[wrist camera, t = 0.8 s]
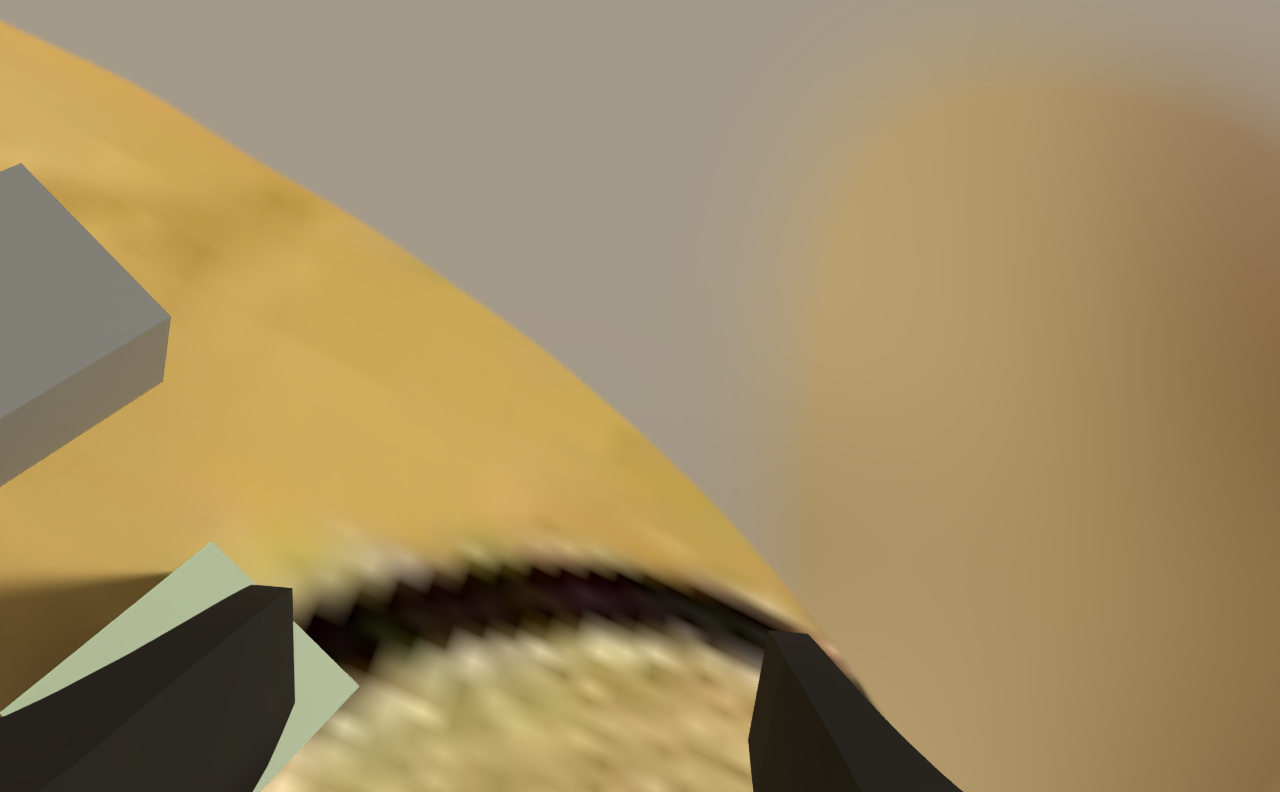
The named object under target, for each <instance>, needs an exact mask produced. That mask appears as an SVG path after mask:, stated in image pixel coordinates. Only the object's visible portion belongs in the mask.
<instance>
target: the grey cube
mask: <svg viewBox="0 0 1280 792" xmlns="http://www.w3.org/2000/svg"><path fill="white" fill-rule="evenodd" d="M170 319H171V316H170V315H169V314H168V313H167V312H166V311H165V310H164V309H163V308H162V307H161V306H160V305H159V304H158V303H157V302H156V301H155V300H154V299H153V298H152V297H151V296H150V295H149V294H148V293H147V292H146V291H145V290H144V289H143V288H142V287H141V285H140V284H139V283H138V282H137V281H136V280H135V279H134V278H133V277H132V276H131V275H130V274H129V273H128V272H127V271H126V270H125V269H124V268H123V267H122V266H121V265H120V264H119V263H118V262H117V261H116V260H115V259H114V258H113V257H112V256H111V255H110V254H109V253H108V252H107V251H106V250H105V249H104V248H103V246H102V245H101V244H100V243H99V242H98V241H97V240H96V239H95V238H94V237H93V236H92V235H91V234H90V233H89V232H88V231H87V230H86V229H85V228H84V227H83V226H82V225H81V224H80V223H79V222H78V221H77V220H76V219H75V218H74V217H73V216H72V215H71V214H70V213H69V212H68V211H67V210H66V209H65V207H64V206H63V205H62V204H61V203H60V202H59V201H58V200H57V199H56V198H55V197H54V196H53V195H52V194H51V193H50V192H49V191H48V190H47V189H46V188H45V187H44V186H43V185H42V184H41V183H40V182H39V181H38V180H37V179H36V178H35V177H34V176H33V175H32V174H31V173H30V172H29V171H28V170H27V169H26V167H25V166H24V165H23V164H22V163H20V164H18V165H16V166H13V167H11V168H9V169H6V170H4V171H1V172H0V487H1V486H2V485H4V484H5V483H7V482H8V481H10V480H12V479H13V478H15V477H16V476H18V475H19V474H21V473H22V472H24V471H25V470H27V469H29V468H30V467H32V466H33V465H35V464H36V463H38V462H39V461H41V460H42V459H44V458H46V457H47V456H49V455H50V454H52V453H53V452H55V451H56V450H58V449H59V448H61V447H63V446H64V445H66V444H67V443H69V442H70V441H72V440H73V439H75V438H76V437H78V436H79V435H81V434H83V433H84V432H86V431H87V430H89V429H90V428H92V427H93V426H95V425H96V424H98V423H100V422H101V421H103V420H104V419H106V418H107V417H109V416H110V415H112V414H113V413H115V412H117V411H118V410H120V409H121V408H123V407H124V406H126V405H127V404H129V403H130V402H132V401H134V400H135V399H137V398H138V397H140V396H141V395H143V394H144V393H146V392H147V391H149V390H150V389H152V388H154V387H155V386H157V385H158V384H160V383H161V382H163V376H164V368H165V360H166V352H167V344H168V336H169V328H170Z"/></svg>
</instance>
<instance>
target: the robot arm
mask: <svg viewBox="0 0 1280 792" xmlns="http://www.w3.org/2000/svg"><path fill="white" fill-rule="evenodd" d="M294 704H295V676H294V636H293V596H292V588H284V587H273V586H261V585H249V586H247V587H245V588H243V589H241V590H239V591H237V592H236V593H234V594H232V595H230V596H228V597H226V598H225V599H223V600H221V601H219V602H218V603H216V604H214V605H212V606H211V607H209V608H207V609H206V610H204V611H202V612H200V613H199V614H197V615H195V616H194V617H192V618H190V619H188V620H187V621H185V622H183V623H182V624H180V625H178V626H176V627H175V628H173V629H171V630H169V631H168V632H166V633H164V634H162V635H161V636H159V637H157V638H155V639H154V640H152V641H150V642H148V643H147V644H145V645H143V646H141V647H140V648H138V649H136V650H134V651H133V652H131V653H129V654H127V655H125V656H123V657H122V658H120V659H118V660H116V661H114V662H112V663H110V664H108V665H106V666H104V667H103V668H101V669H99V670H97V671H95V672H93V673H91V674H89V675H87V676H85V677H83V678H82V679H80V680H78V681H76V682H74V683H72V684H70V685H68V686H66V687H64V688H62V689H61V690H59V691H57V692H55V693H53V694H51V695H49V696H46V697H44V698H42V699H40V700H38V701H36V702H34V703H32V704H30V705H28V706H25V707H23V708H21V709H19V710H17V711H15V712H12V713H10V714H8V715H6V716H3V717H1V718H0V792H253V791H254V789H255V787H256V785H257V784H258V782H259V780H260V779H261V777H262V775H263V773H264V772H265V770H266V768H267V766H268V764H269V762H270V760H271V758H272V755H273V753H274V751H275V749H276V747H277V744H278V742H279V740H280V738H281V735H282V733H283V730H284V728H285V726H286V723H287V721H288V719H289V716H290V714H291V711H292V709H293V707H294ZM748 743H749V753H750V764H751V774H752V783H753V791H754V792H963V791H961V790H960V789H959V788H958V787H957V786H955V785H954V784H953V783H952V782H951V781H950V780H949V779H947V778H946V777H945V776H944V775H943V774H942V773H941V772H940V771H939V770H937V769H936V768H935V767H934V766H933V765H932V764H931V763H930V762H929V761H928V760H927V759H926V758H925V757H924V756H922V755H921V754H920V753H919V752H918V751H917V750H916V749H915V748H914V747H913V746H912V745H911V744H910V743H909V742H908V741H907V740H906V739H905V738H904V737H903V736H902V735H901V734H899V732H898V731H897V730H896V729H895V728H894V727H893V726H892V725H891V724H890V723H889V722H888V721H887V720H886V719H885V718H884V717H883V716H882V715H881V714H880V713H879V712H878V711H877V710H876V709H875V708H874V706H873V705H872V704H871V703H870V702H869V701H868V700H867V699H866V698H865V697H864V696H863V695H862V694H861V692H860V691H859V690H858V689H857V688H856V687H855V686H854V685H853V684H852V683H851V681H850V680H849V679H848V678H847V677H846V676H845V675H844V674H843V672H842V671H841V670H840V669H839V668H838V667H837V666H836V665H835V663H834V662H833V661H832V660H831V659H830V658H829V657H828V656H827V654H826V653H825V652H824V651H823V650H822V649H821V648H820V647H819V645H818V644H817V643H816V642H815V641H814V640H813V639H812V638H811V637H810V636H809V635H808V634H803V633H792V632H780V631H769V630H768V636H767V641H766V646H765V652H764V657H763V663H762V668H761V673H760V679H759V684H758V690H757V695H756V700H755V706H754V711H753V717H752V722H751V727H750V733H749V738H748Z"/></svg>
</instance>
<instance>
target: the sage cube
mask: <svg viewBox="0 0 1280 792" xmlns="http://www.w3.org/2000/svg"><path fill="white" fill-rule="evenodd" d="M249 585H256V584H255V583H254V582H253V581H252V580H251V579H250V578H249V577H248V576H247V575H246V574H245V573H244V572H243V571H242V570H241V569H240V568H239V567H238V566H237V565H236V564H235V563H234V562H233V561H232V560H231V559H230V558H229V557H228V556H227V555H226V554H225V553H224V552H223V551H222V550H221V549H220V548H219V547H217V546H216V545H215V544H214V543H213V542H212V541H211V542H210V543H209V544H207V545H206V546H205V547H204V548H202V549H201V550H200V551H199V552H197V553H196V554H195V555H194V556H192V557H191V558H190V559H189V560H188V561H186V562H185V563H184V564H183V565H181V566H180V567H179V568H178V569H176V570H175V571H174V572H173V573H171V574H170V575H169V576H168V577H167V578H165V579H164V580H163V581H162V582H160V583H159V584H158V585H157V586H155V587H154V588H153V589H152V590H150V591H149V592H148V593H147V594H146V595H144V596H143V597H142V598H141V599H139V600H138V601H137V602H136V603H134V604H133V605H132V606H131V607H129V608H128V609H127V610H126V611H125V612H123V613H122V614H121V615H120V616H118V617H117V618H116V619H115V620H113V621H112V622H111V623H110V624H108V625H107V626H106V627H105V628H104V629H102V630H101V631H100V632H99V633H97V634H96V635H95V636H94V637H92V638H91V639H90V640H89V641H88V642H86V643H85V644H84V645H83V646H81V647H80V648H79V649H78V650H76V651H75V652H74V653H73V654H71V655H70V656H69V657H68V658H67V659H65V660H64V661H63V662H62V663H60V664H59V665H58V666H57V667H55V668H54V669H53V670H52V671H50V672H49V673H48V674H47V675H46V676H44V677H43V678H42V679H41V680H39V681H38V682H37V683H36V684H34V685H33V686H32V687H31V688H29V689H28V690H27V691H26V692H25V693H23V694H22V695H21V696H20V697H18V698H17V699H16V700H15V701H13V702H12V703H11V704H10V705H8V706H7V707H6V708H5V709H4V710H2V711H1V712H0V714H1V715H2V716H6V715H8V714H10V713H12V712H15V711H17V710H19V709H21V708H23V707H25V706H28V705H30V704H32V703H34V702H36V701H38V700H40V699H42V698H44V697H46V696H49V695H51V694H53V693H55V692H57V691H59V690H61V689H62V688H64V687H66V686H68V685H70V684H72V683H74V682H76V681H78V680H80V679H82V678H83V677H85V676H87V675H89V674H91V673H93V672H95V671H97V670H99V669H101V668H103V667H104V666H106V665H108V664H110V663H112V662H114V661H116V660H118V659H120V658H122V657H123V656H125V655H127V654H129V653H131V652H133V651H134V650H136V649H138V648H140V647H141V646H143V645H145V644H147V643H148V642H150V641H152V640H154V639H155V638H157V637H159V636H161V635H162V634H164V633H166V632H168V631H169V630H171V629H173V628H175V627H176V626H178V625H180V624H182V623H183V622H185V621H187V620H188V619H190V618H192V617H194V616H195V615H197V614H199V613H200V612H202V611H204V610H206V609H207V608H209V607H211V606H212V605H214V604H216V603H218V602H219V601H221V600H223V599H225V598H226V597H228V596H230V595H232V594H234V593H236V592H237V591H239V590H241V589H243V588H245V587H247V586H249ZM293 636H294V676H295V704H294V707H293V709H292V711H291V714H290V716H289V719H288V721H287V723H286V726H285V728H284V730H283V733H282V735H281V738H280V740H279V742H278V744H277V747H276V749H275V751H274V753H273V755H272V758H271V760H270V762H269V764H268V766H267V768H266V770H265V772H264V773H263V775H262V777H261V779H260V780H259V782H258V784H257V785H256V787H255V789H254V791H253V792H260V791H261V790H262V789H263V788H264V787H265V786H266V785H267V784H268V783H269V782H270V781H271V780H272V779H273V778H274V776H275V775H276V774H277V773H278V772H279V771H280V770H281V769H282V768H283V767H284V766H285V765H286V764H287V763H288V762H289V761H290V759H291V758H292V757H293V756H294V755H295V754H296V753H297V752H298V751H299V750H300V749H301V748H302V747H303V746H304V745H305V743H306V742H307V741H308V740H309V739H310V738H311V737H312V736H313V735H314V734H315V733H316V732H317V731H318V730H319V729H320V728H321V726H322V725H323V724H324V723H325V722H326V721H327V720H328V719H329V718H330V717H331V716H332V715H333V714H334V713H335V712H336V711H337V709H338V708H339V707H340V706H341V705H342V704H343V703H344V702H345V701H346V700H347V699H348V698H349V697H350V696H351V695H352V693H353V692H354V691H355V690H356V689H357V688H358V687H359V685H358V684H357V683H356V682H355V681H354V680H353V679H352V678H351V677H350V676H349V675H348V674H347V673H345V672H344V671H343V670H342V669H341V668H340V667H339V666H338V665H337V664H336V663H335V662H334V661H333V660H332V659H331V658H330V657H329V656H328V655H327V654H326V653H325V652H324V651H323V650H322V649H321V648H320V647H319V646H318V645H317V644H316V643H315V642H314V641H313V640H312V639H311V638H310V637H309V636H308V635H307V634H306V633H305V632H304V631H303V630H302V629H301V628H300V627H299V626H298V625H297V624H296V623H295V622H294V621H293Z"/></svg>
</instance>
